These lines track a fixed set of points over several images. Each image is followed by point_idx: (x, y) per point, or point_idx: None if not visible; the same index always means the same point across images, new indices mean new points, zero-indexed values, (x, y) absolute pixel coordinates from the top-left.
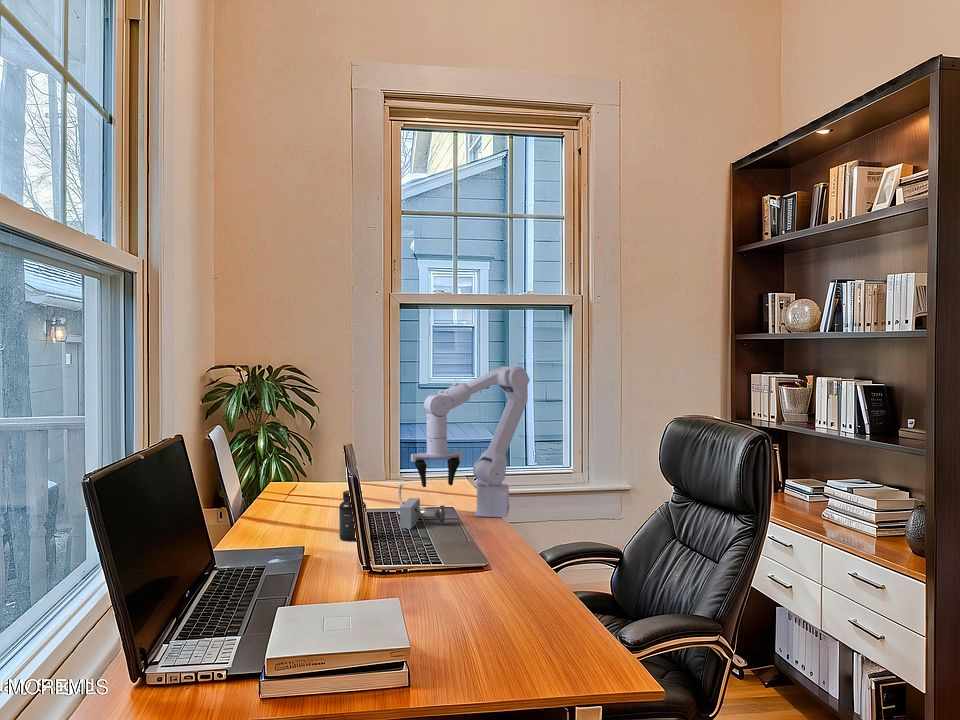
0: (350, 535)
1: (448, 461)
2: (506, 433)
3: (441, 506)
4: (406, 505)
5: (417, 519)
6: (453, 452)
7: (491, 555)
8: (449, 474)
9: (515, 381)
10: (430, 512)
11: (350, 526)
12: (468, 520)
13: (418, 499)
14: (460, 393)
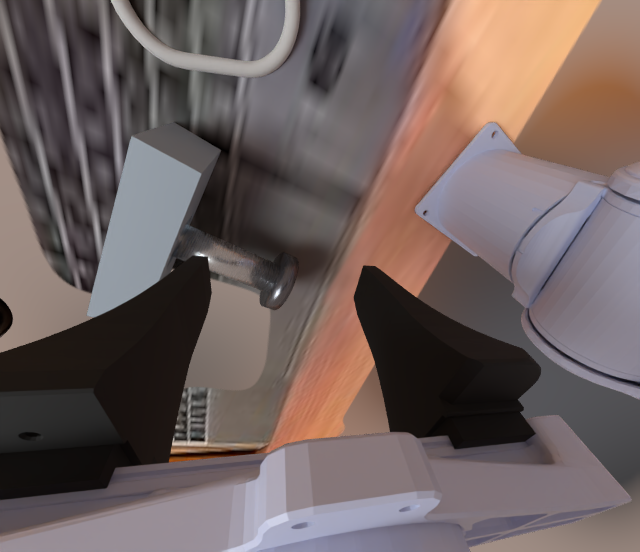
0: None
1: (439, 382)
2: None
3: (273, 304)
4: (118, 299)
5: (201, 195)
6: (502, 535)
7: (286, 427)
8: (382, 318)
9: None
10: (235, 280)
11: None
12: (372, 240)
13: (189, 204)
14: None
